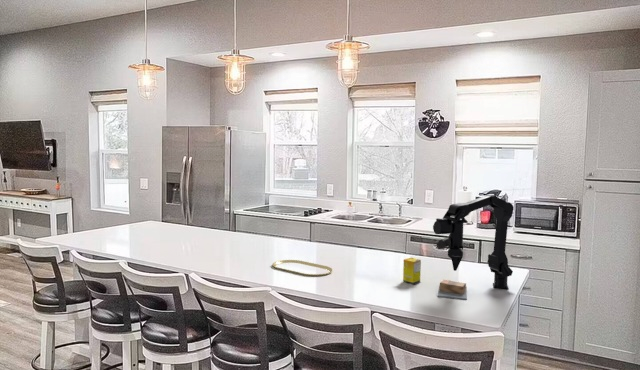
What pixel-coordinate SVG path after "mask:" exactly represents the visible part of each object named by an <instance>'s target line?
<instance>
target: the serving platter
mask: <svg viewBox="0 0 640 370" xmlns="http://www.w3.org/2000/svg"><path fill="white" fill-rule="evenodd" d="M286 263H288V264H289V263H293V264H301V265H305V266H310V267H314V268H320V269H324V270H326V269H327V271H328V270H329V271H330V272H329V271H328V272H325V273H314V274H313V273H305V272H300V271H295V270H292V269H287V268H282V267H278V266H277V265H281V264H286ZM272 267H273V268H275V269H276V270H279V271H284V272H289V273H292V272H293V274H296V273H297V275H301V276H305V275H306V277H323V275H324V276H326V275H327V274H328V275H330V274H331V273H332V272H333V268H332V267H330V266H328V265H321V264H318V263H314V262H309V261H303V260H298V259H283V260H277V261H274V262H273V263H272Z"/></svg>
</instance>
